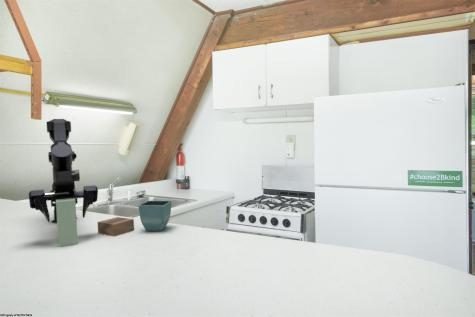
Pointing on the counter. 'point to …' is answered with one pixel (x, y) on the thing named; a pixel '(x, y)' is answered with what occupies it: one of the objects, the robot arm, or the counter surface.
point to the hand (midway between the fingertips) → (66, 219)
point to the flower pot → (155, 214)
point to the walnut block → (115, 226)
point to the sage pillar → (66, 222)
